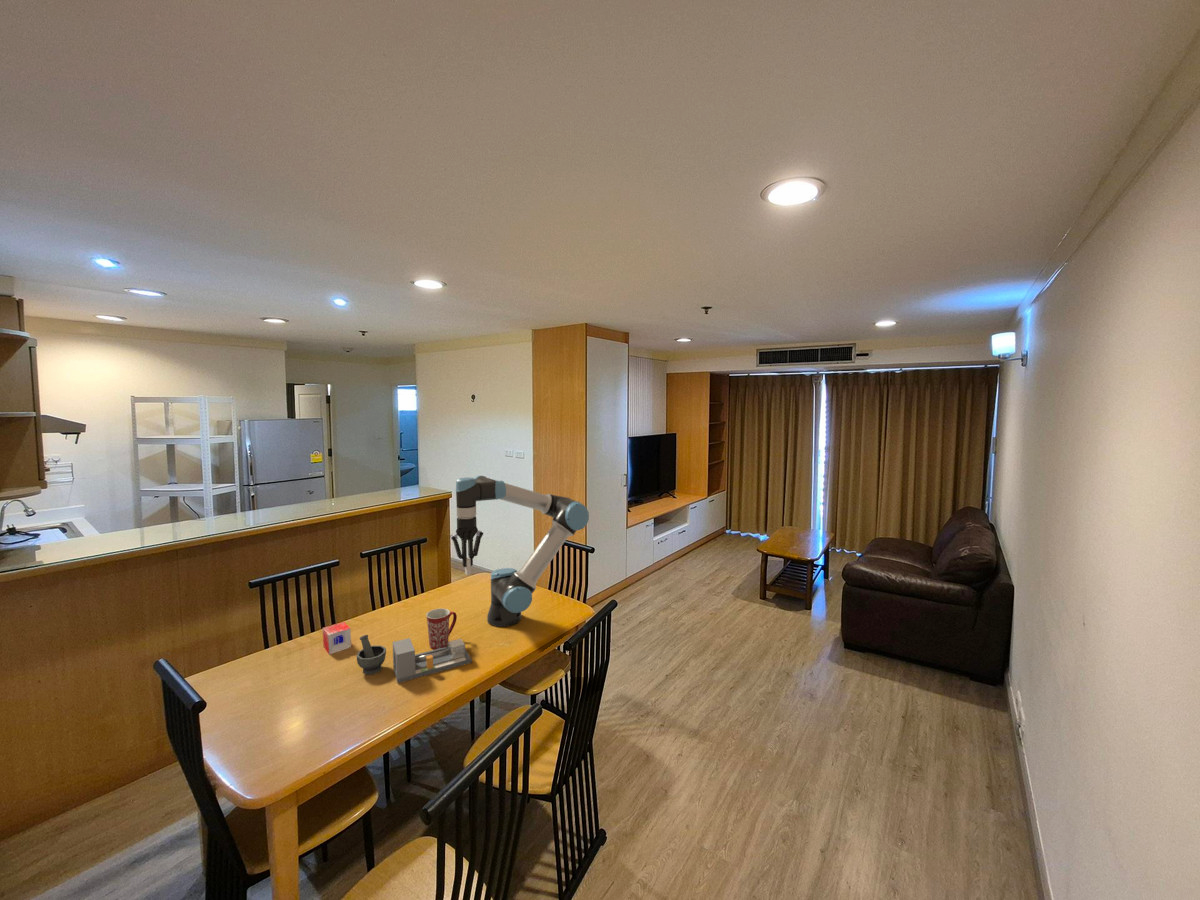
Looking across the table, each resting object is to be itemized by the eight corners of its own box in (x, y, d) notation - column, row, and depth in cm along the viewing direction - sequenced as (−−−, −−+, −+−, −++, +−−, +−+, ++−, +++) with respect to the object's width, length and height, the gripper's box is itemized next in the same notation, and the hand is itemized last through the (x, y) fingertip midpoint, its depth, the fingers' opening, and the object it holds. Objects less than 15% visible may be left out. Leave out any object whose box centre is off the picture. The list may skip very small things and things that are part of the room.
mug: (434, 653, 184) (433, 620, 183) (422, 645, 190) (421, 613, 189) (462, 641, 194) (462, 610, 192) (450, 634, 199) (450, 603, 198)
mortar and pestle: (391, 668, 173) (390, 637, 172) (366, 680, 166) (365, 648, 164) (375, 658, 180) (374, 628, 179) (350, 669, 172) (349, 638, 171)
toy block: (345, 640, 194) (344, 621, 193) (351, 647, 188) (350, 628, 187) (323, 646, 188) (322, 628, 187) (328, 654, 182) (328, 635, 182)
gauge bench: (464, 650, 186) (463, 625, 185) (471, 662, 178) (471, 636, 177) (393, 669, 173) (392, 642, 172) (397, 683, 164) (396, 654, 163)
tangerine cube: (432, 665, 172) (431, 654, 172) (433, 667, 171) (432, 657, 170) (426, 666, 171) (426, 656, 171) (427, 669, 170) (427, 658, 169)
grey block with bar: (461, 650, 183) (461, 638, 183) (466, 659, 177) (466, 646, 177) (408, 664, 173) (407, 651, 173) (411, 674, 167) (410, 660, 167)
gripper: (479, 512, 194) (480, 568, 196) (447, 516, 187) (449, 574, 189) (485, 516, 188) (486, 573, 190) (452, 520, 180) (454, 580, 183)
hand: (467, 573), depth 190 cm, fingers closed
